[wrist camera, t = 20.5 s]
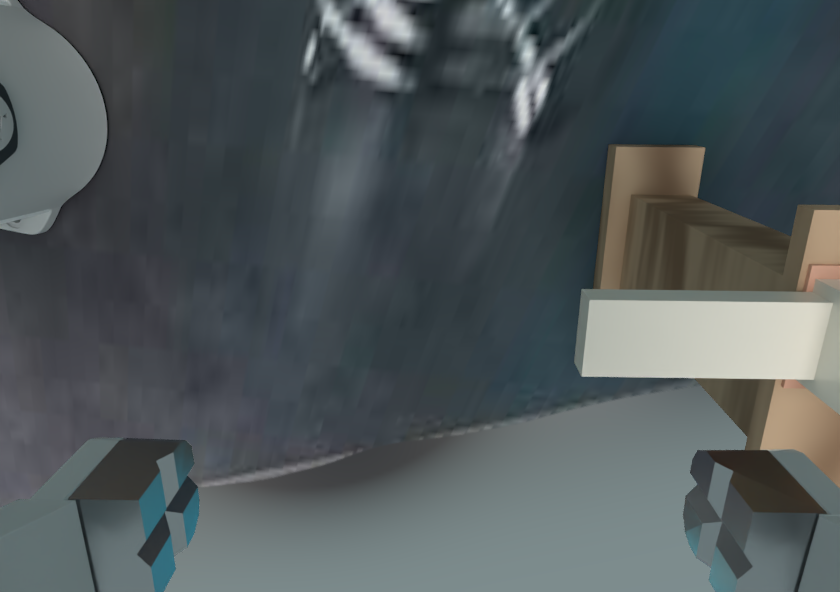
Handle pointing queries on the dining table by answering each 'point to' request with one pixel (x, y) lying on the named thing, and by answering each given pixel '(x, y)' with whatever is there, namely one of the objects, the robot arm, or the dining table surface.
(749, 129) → the dining table surface
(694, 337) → the white block with handle
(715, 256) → the wooden post with base
